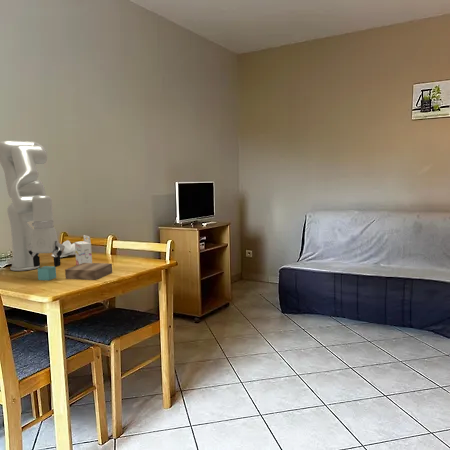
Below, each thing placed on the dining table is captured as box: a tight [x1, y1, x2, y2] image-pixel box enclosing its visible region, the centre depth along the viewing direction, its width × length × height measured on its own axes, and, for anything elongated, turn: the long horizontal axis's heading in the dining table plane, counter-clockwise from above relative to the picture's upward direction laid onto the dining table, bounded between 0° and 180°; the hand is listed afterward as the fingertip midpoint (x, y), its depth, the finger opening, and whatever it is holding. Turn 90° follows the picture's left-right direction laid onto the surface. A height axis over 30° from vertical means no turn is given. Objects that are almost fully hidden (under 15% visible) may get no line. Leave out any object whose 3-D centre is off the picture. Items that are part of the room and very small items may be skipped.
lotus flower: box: [51, 239, 76, 258], centre depth 225 cm, size 14×15×9 cm
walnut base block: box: [64, 262, 113, 281], centre depth 177 cm, size 14×14×4 cm
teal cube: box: [37, 265, 57, 281], centre depth 173 cm, size 5×5×5 cm
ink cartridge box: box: [74, 234, 93, 266], centre depth 196 cm, size 9×5×15 cm, turn 41°
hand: (47, 266), depth 172 cm, fingers open, 9 cm apart
